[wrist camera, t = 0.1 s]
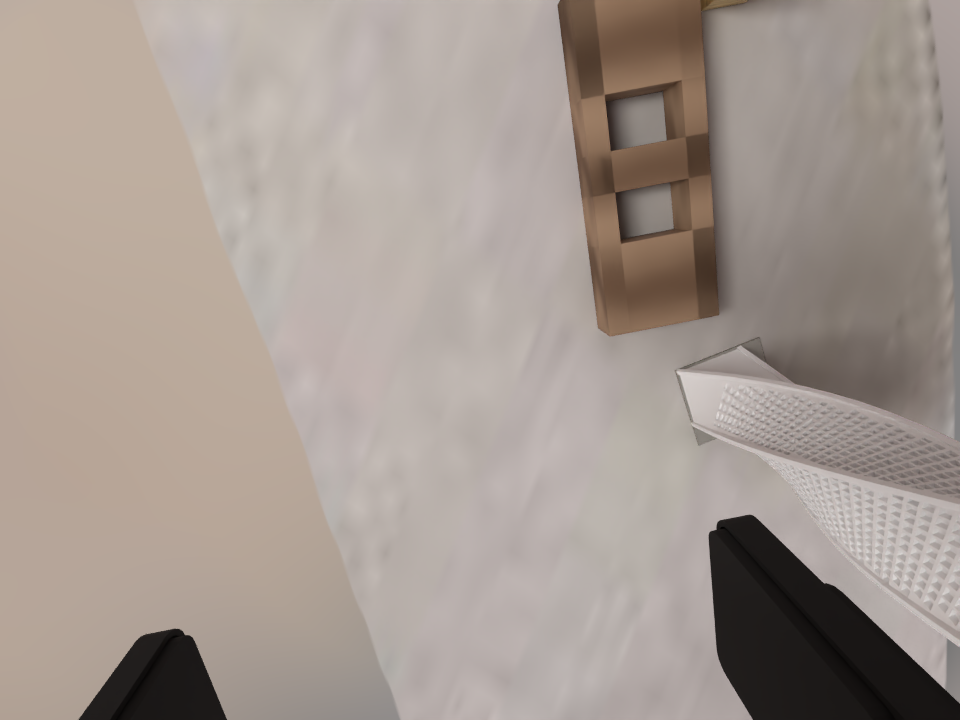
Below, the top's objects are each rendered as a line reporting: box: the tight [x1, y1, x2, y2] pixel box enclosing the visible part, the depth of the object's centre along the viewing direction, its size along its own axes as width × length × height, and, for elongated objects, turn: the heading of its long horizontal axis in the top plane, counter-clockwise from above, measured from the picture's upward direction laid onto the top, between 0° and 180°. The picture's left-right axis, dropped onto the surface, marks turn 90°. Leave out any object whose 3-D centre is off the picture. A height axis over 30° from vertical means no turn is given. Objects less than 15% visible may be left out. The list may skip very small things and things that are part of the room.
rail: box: [558, 0, 719, 336], centre depth 36 cm, size 22×8×3 cm, turn 10°
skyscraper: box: [675, 337, 960, 647], centre depth 29 cm, size 8×8×28 cm
